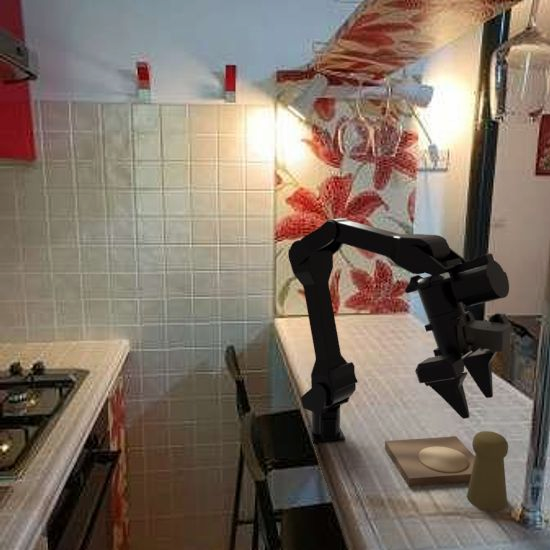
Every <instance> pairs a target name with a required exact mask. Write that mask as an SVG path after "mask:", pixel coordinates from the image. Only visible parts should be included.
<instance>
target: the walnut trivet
mask: <svg viewBox="0 0 550 550" xmlns="http://www.w3.org/2000/svg"><path fill="white" fill-rule="evenodd" d="M384 449H385V451H386V452H387V454H388V456H389V457H390V459H391V461H392V462H393V464H394V465H395V467H396V469H397V470H398V472H399V473H400V475H401V477H402V478H403V480H404V482H405V483H406V484H407V486H408V487H411V488H412V487H423V486H435V485H437V486H438V485H449V484H464V483H470V478H471V473H472V469H473V464H474V459H475V455H474V454H473V452H471V451H470V450H469V448H467V446H466V445H465V444H464V443H463V442H462V441H461V440H460V439H459V437H457V436H442V437H426V438H425V437H424V438H413V439H412V438H411V439H410V438H409V439H408V438H407V439H395V440H393V439H392V440H385V441H384Z"/></svg>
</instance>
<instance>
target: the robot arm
mask: <svg viewBox="0 0 550 550" xmlns="http://www.w3.org/2000/svg"><path fill="white" fill-rule="evenodd" d="M344 245H346V246H349V247H352V248H357V249H360V250H363V251H367V252H371V253H373V254H376V255H379V256H383V257H386V258H387V259H390V260H391V262H392V263H394V265H396V266H397V267H399V268H401V269H403V270H405V271H407V272H408V273H410V274H413V276H411V277H410V279H409V283H408V284H407V286H406V288H405V289H404V292H405V293H406V294H410V293H413V292H418V296H419V298H420V301H421V304H422V307H423V311H424V312H425V316H426V318H427V321H428V323H427V324H425V325H424V329H425V331H426V333H427V332H432V336H433V338H434V341H435V344H436V346H437V347H436V348H435V349H433V351H432V352H433V354H434V356H431V357H427V358H426V359H425V360H423V361H421V362H419V363H418V364H417V366H416V368H415V370H414V372H415V375H416V377H417V380H418V383H419V384H424V385H425V386H426V387H430V388H431V389H432V390H434V392H435V393H437V394H438V395H439V396H440V398H442V399H443V400H444V401H445V402H446V403H447V404H448V406H450V407H451V408H452V409H453V410H454V411H455V412H456V413H457V414H458V415H459V417H460V418H461V419H463V420H464V419H469V418H470V412H469V411H470V410H469V405H468V401H467V398H466V393H465V390H464V389H465V388H464V385H463V384H464V382H465V379H466V378H467V376H468V374H469V375H470V376H471V378H472V379H473V382H475V384H476V386H477V387H478V389H479V391H480V392H481V393H482V395H483V396H484V397H485V398H486V399H491V398H492V397H494V390H493V388H494V387H493V372H492V371H493V366H492V365H493V364H492V363H493V360H494V359H495V357H496V356H497V354H498V353H500V352H504V351H505V349H506V348H507V347H510V346H511V334H512V333H514V331H515V330H514V329H515V328H514V327H512V322H510V320H509V319H508V317H507V315H506V313H500V312H495V313H494V314H492V315H491V316H490V318H489V319H484V320H478V319H477V320H476V319H475V317H474V314H473V312H471V311H470V310H469V311H468V310H467V311H465V309H464V306H463V305H465V306H466V307H472V306H476V305H479V304H484V303H489V302H493V301H496V300H500V299H504V298H506V297H507V296H508V295H509V294H510V283H509V282H510V281H509V278H508V275H507V272H506V271H505V270H504V269H503V267H502V266H501V264H500V263H498V262H497V261H496V260H495V259H494V256H493V254H492V253H491V252H489V253H485V254H482V255H479V256H476V257H474V258H473V259H471V260H468V261H467V259H465V258H464V257H462V255H460V254H458V253H457V252H456V251H455V250H453V249H452V248H450V245H449V243H448V242H447V240H446V238H444V237H443V236H441V235H437V234H426V233H425V234H424V233H423V234H421V233H416V234H415V233H412V234H411V233H408V234H407V233H405V234H404V233H397V232H394V231H390V230H386V229H382V228H378V227H374V226H372V225H371V226H370V225H367V224H364V223H359V222H355V221H351V220H349V219H348V218H346V217H345V218H342V217H341V218H333V219H332V218H331V219H330V218H329V219H328V220H327V221H325V222H324V223H323V224H322V225H321V226H319V227H318V228H316V229H315V230H313V231H312V232H310V233H308V234H306V235H304V236H303V237H302V238H300V239H298V240H295V241H293V243H292V244H291V245H290V248H288V252H287V253H288V255H287V257H288V261H289V263H290V267H291V270H292V273H293V276H294V277H295V278H296V279H297V280H298V282H299V283H300V284H301V286H302V287H303V293H304V298H305V304H306V310H307V314H308V315H307V316H308V321H309V328H310V332H311V333H310V334H311V338H312V343H313V344H312V345H313V350H314V355H315V360H314V363H313V366H312V370H311V373H310V382H311V383H310V384H311V388H310V389H309V390H308V391H306V392H305V393H304V394H303V395H302V396H301V397H300V402H301V404H302V408H303V409H305V410H306V411H310V412H311V415H310V416H311V424H309V425H307V427H306V428H307V431H308V433H309V436H310V439H311V442H313V443H323V442H325V443H326V442H337V441H338V442H339V441H346V436H345V434H344V433H343V431H342V428H341V406H342V405H345V404H347V403H349V400H350V398H351V397H352V396H353V394H354V393H355V391H356V388H357V386H356V384H357V383H359V382H358V379H357V377H356V372H355V364H354V362H352V361H350V362H348V361H347V360H346V359H345V358H344V357H343V355H342V352H341V348H340V341H339V334H338V329H337V324H336V318H335V313H334V307H333V303H332V302H333V301H332V295H331V289H330V285H329V284H330V283H329V282H330V279H331V276H332V273H333V268H334V255H335V254H336V253H338V252H339V251H340V250H341V249H342V247H343V246H344ZM447 273H448V275H449V276H447V277H445V276H443V274H447ZM421 274H427V275H428V276H425V277H423V276H421ZM465 370H467V371H465Z"/></svg>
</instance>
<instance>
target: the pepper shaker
mask: <svg viewBox="0 0 550 550" xmlns="http://www.w3.org/2000/svg"><path fill="white" fill-rule="evenodd" d="M471 445H472V449H473V452H474V453H475V455H474V456H475V459H474V464H473V469H472V473H471V478H470V482H468V483H469V484H468V489H467V492H466V499H467V501H468V502H469V503H470V504H471V505H472V506H474V507H475V508H478V509H481V510H485V511H490V512H497V511H502V510H504V509H505V508H507V506H508V498H507V497H508V496H507V485H506V484H507V483H506V470H505V460H504V458H505V457H507V455H508V452H509V444H508V441H507V439H506V438H505V437H504V436H503V435H501V434H500V433H498V432H494V431H490V430H489V431H487V430H486V431H485V430H484V431H480V432H477V433H476V434H474V436H473V439H472V444H471Z"/></svg>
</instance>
